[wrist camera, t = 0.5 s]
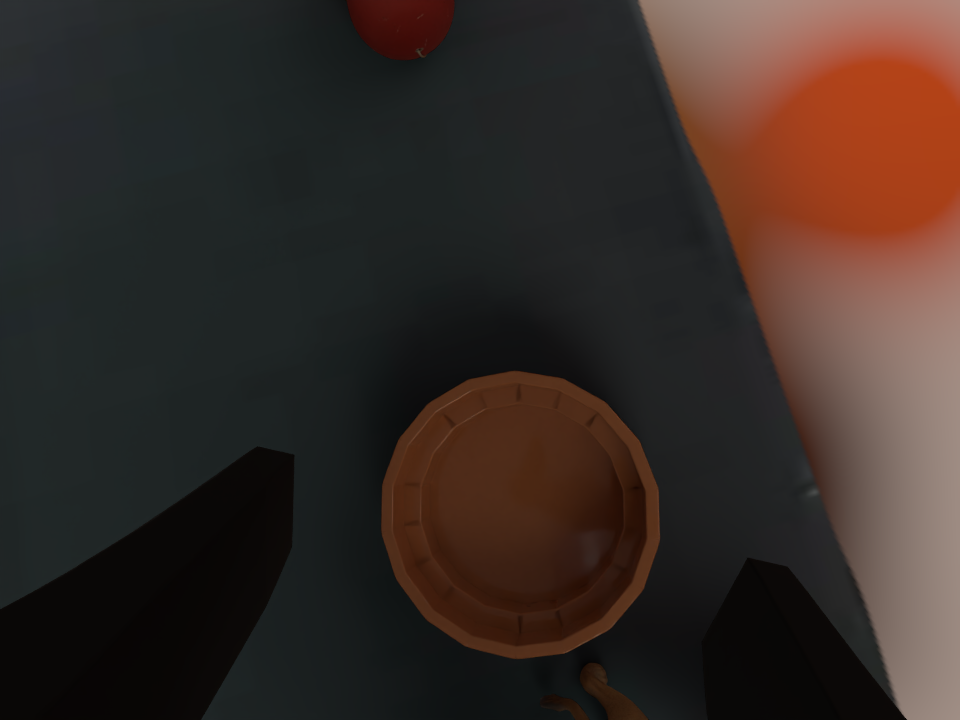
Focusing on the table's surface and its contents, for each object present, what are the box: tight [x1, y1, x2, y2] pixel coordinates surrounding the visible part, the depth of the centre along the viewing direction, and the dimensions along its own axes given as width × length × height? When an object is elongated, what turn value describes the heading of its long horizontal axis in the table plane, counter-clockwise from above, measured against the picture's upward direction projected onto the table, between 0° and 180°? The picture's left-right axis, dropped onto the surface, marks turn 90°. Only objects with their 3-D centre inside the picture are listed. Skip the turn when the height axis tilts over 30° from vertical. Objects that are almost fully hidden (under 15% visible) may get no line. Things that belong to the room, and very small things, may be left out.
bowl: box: [381, 371, 660, 659], centre depth 32 cm, size 13×13×4 cm
